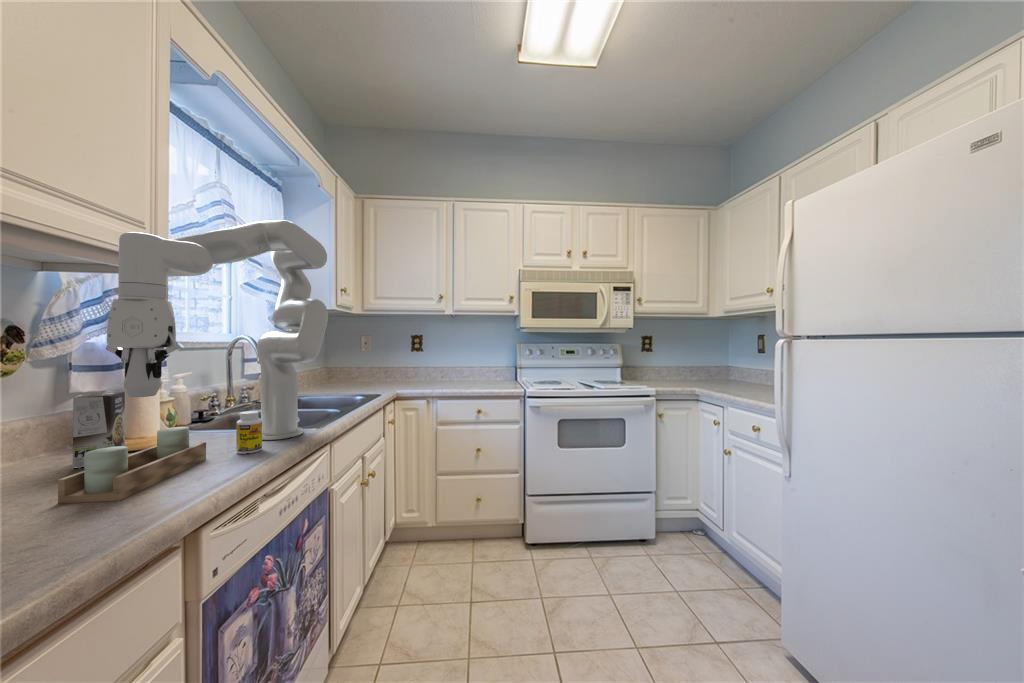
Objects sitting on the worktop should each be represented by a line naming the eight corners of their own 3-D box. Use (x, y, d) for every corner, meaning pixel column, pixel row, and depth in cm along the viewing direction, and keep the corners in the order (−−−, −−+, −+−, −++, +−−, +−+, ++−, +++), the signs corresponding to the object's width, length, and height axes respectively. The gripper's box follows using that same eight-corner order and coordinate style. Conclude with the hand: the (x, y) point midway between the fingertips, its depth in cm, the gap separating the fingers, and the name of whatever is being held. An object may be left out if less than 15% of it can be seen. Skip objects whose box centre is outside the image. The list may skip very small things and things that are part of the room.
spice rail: (161, 461, 92) (161, 426, 92) (206, 459, 93) (206, 425, 93) (58, 503, 68) (58, 457, 68) (119, 500, 69) (119, 455, 69)
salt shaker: (145, 393, 84) (145, 334, 84) (169, 394, 83) (169, 334, 83) (115, 397, 78) (115, 333, 78) (140, 398, 77) (141, 333, 77)
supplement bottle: (235, 455, 96) (235, 415, 96) (237, 450, 101) (237, 411, 101) (261, 452, 99) (262, 412, 99) (262, 447, 104) (262, 409, 104)
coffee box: (111, 465, 88) (111, 395, 88) (71, 470, 85) (71, 397, 85) (126, 455, 96) (126, 390, 96) (90, 458, 93) (90, 392, 93)
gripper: (81, 290, 76) (81, 384, 76) (174, 292, 78) (173, 383, 78) (115, 295, 83) (115, 380, 83) (199, 296, 85) (198, 379, 85)
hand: (143, 381), depth 80 cm, fingers closed on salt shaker, 3 cm apart
